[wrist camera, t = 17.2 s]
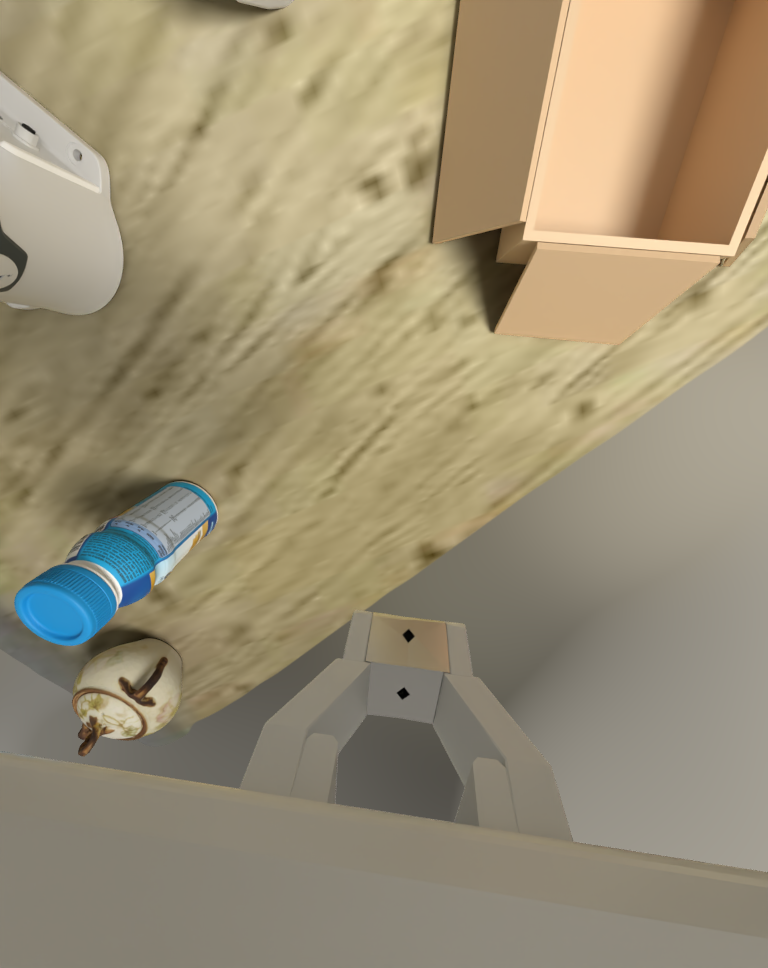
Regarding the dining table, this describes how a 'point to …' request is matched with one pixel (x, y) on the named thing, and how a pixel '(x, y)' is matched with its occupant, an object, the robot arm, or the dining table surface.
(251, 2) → the alarm clock
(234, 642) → the dining table surface
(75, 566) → the beverage bottle
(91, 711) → the sugar bowl
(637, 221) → the carton
